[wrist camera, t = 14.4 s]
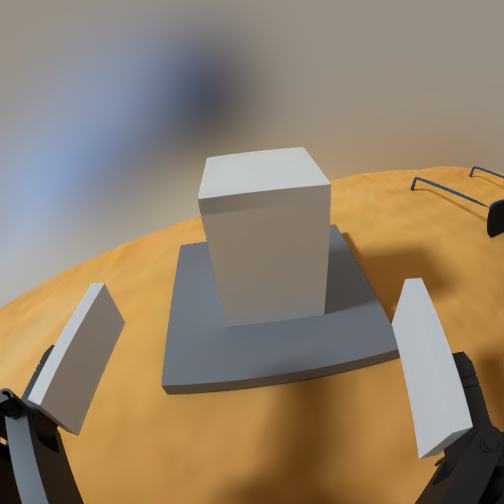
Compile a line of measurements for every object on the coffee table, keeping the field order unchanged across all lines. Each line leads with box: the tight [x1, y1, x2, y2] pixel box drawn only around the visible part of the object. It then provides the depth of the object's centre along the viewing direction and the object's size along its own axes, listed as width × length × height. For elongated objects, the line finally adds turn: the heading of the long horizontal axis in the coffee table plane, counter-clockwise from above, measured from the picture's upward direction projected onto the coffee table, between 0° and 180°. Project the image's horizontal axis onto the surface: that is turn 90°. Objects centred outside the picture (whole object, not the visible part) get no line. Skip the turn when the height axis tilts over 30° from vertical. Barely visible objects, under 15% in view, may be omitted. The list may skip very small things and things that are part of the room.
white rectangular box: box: [198, 147, 331, 327], centre depth 21 cm, size 7×7×10 cm
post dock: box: [162, 225, 400, 394], centre depth 23 cm, size 16×16×8 cm
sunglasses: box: [411, 166, 504, 237], centre depth 34 cm, size 17×15×5 cm
